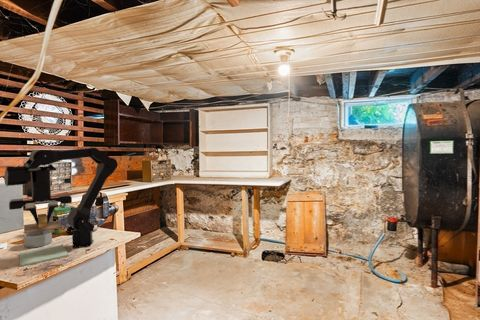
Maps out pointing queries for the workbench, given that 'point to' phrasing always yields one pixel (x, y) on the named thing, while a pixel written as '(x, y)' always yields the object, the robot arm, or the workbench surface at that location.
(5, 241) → the workbench surface
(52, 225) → the cover
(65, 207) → the green lantern
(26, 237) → the bowl
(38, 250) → the mat
